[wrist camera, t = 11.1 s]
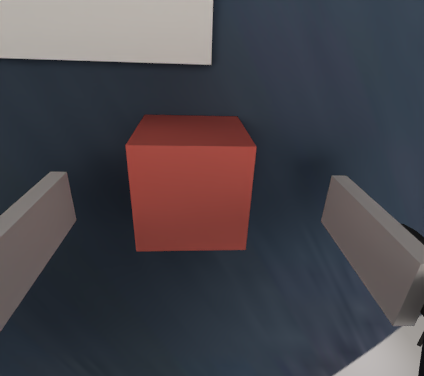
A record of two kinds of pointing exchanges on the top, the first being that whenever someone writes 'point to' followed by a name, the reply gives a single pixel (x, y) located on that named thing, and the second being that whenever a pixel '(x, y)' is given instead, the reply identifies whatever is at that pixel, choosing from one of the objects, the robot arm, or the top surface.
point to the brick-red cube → (190, 182)
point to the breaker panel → (108, 30)
